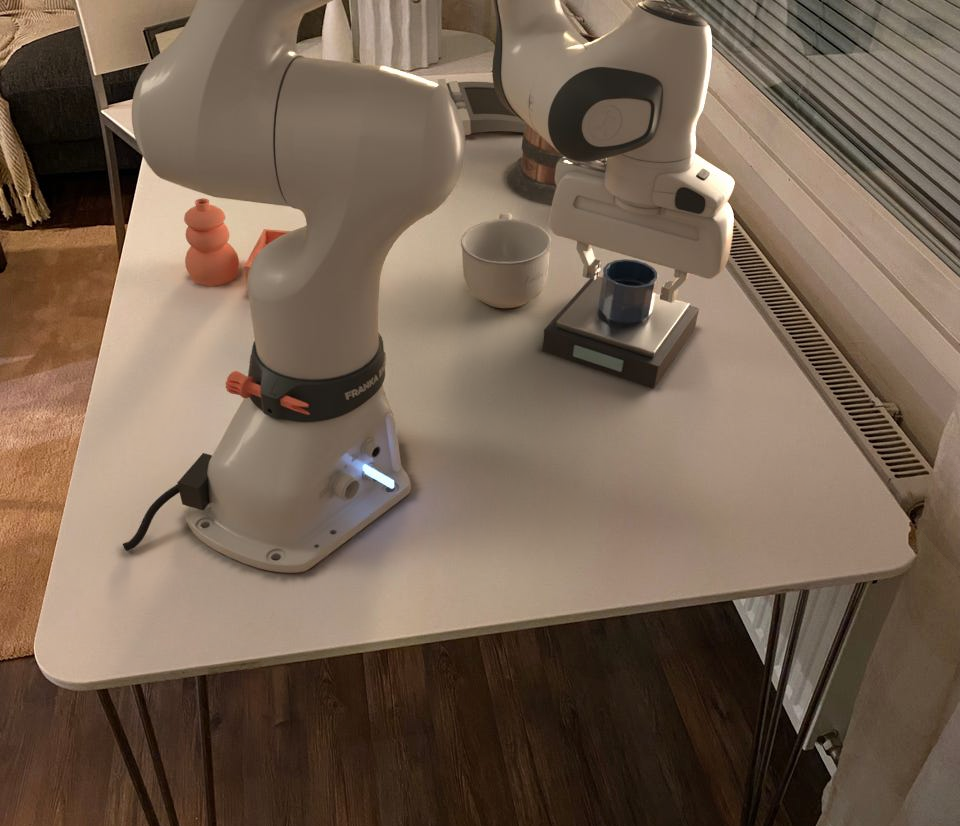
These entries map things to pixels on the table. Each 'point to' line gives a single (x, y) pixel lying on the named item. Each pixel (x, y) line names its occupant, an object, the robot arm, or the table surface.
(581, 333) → the scale pan
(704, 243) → the robot arm
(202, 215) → the pottery
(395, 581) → the table surface
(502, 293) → the teacup
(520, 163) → the tankard
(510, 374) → the table surface
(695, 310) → the scale
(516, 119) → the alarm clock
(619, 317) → the cup
